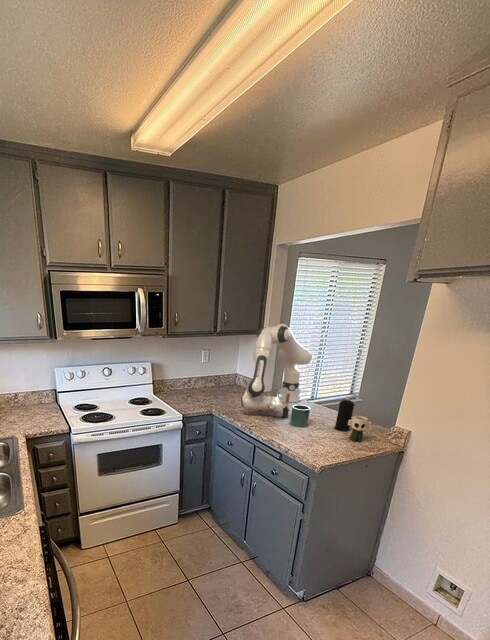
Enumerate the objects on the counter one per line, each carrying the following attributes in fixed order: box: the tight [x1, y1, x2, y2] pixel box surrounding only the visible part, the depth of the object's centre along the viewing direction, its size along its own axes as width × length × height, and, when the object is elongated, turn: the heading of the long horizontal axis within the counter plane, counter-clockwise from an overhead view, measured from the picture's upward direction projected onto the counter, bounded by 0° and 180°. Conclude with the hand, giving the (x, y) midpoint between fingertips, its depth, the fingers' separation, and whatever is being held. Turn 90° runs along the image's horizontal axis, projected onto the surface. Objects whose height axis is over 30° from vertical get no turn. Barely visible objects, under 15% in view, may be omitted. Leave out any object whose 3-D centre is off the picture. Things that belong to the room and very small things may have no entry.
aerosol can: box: [334, 395, 356, 432], centre depth 210 cm, size 8×8×20 cm
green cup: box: [289, 404, 311, 428], centre depth 219 cm, size 10×10×11 cm
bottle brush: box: [282, 393, 290, 419], centre depth 231 cm, size 4×4×16 cm
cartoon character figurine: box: [348, 415, 372, 442], centre depth 196 cm, size 11×7×13 cm, turn 70°
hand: (288, 404), depth 231 cm, fingers closed on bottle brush, 2 cm apart
